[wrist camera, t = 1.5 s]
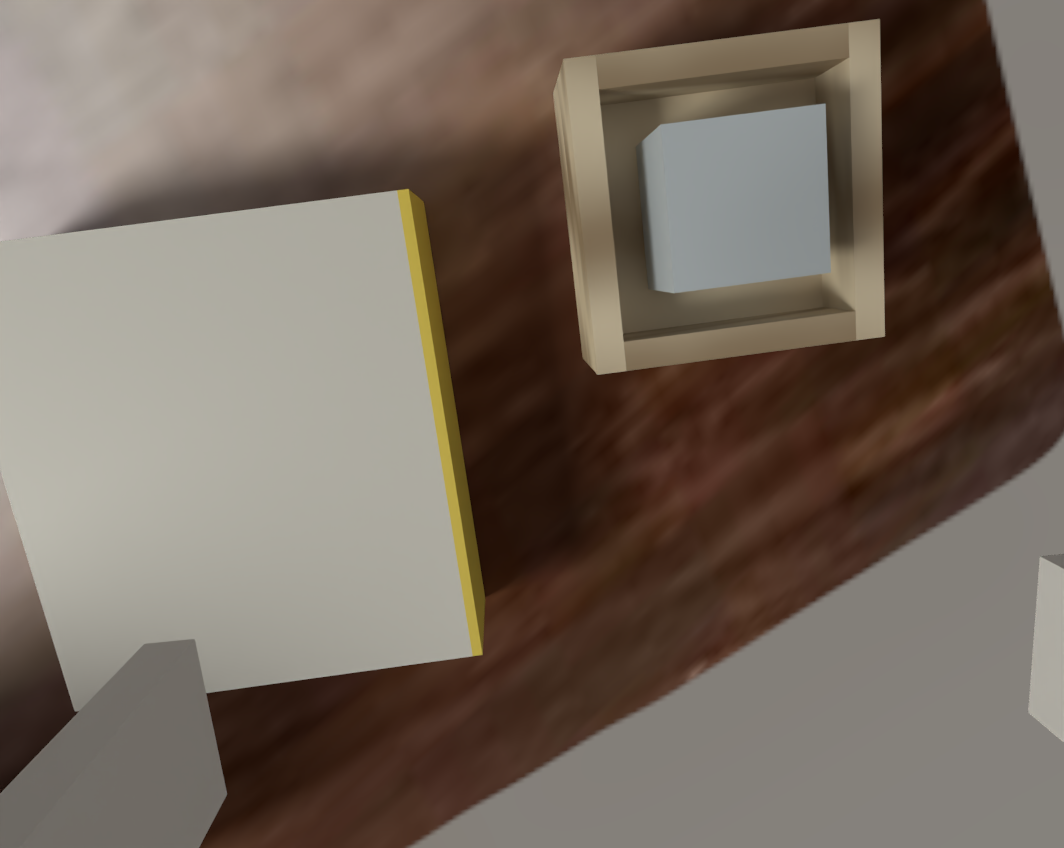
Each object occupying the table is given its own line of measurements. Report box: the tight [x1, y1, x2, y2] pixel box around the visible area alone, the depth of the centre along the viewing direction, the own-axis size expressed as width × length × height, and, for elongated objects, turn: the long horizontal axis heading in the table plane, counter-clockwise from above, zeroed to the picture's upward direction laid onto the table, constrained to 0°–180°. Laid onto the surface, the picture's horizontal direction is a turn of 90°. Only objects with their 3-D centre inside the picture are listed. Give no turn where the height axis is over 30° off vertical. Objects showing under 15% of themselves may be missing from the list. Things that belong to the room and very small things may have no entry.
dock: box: [0, 189, 485, 711], centre depth 29 cm, size 18×16×5 cm
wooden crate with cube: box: [553, 19, 885, 375], centre depth 26 cm, size 10×10×7 cm
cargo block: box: [636, 103, 831, 293], centre depth 24 cm, size 5×5×4 cm
